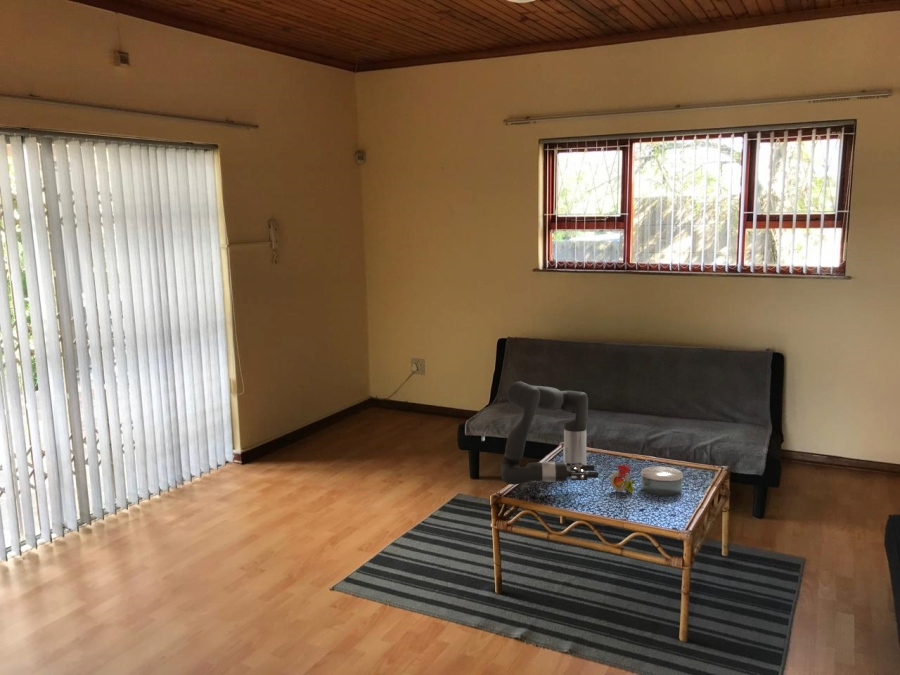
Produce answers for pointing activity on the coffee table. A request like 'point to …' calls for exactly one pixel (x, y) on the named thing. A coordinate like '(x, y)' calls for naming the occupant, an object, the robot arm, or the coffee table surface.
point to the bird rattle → (618, 481)
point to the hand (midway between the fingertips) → (596, 471)
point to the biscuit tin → (661, 481)
